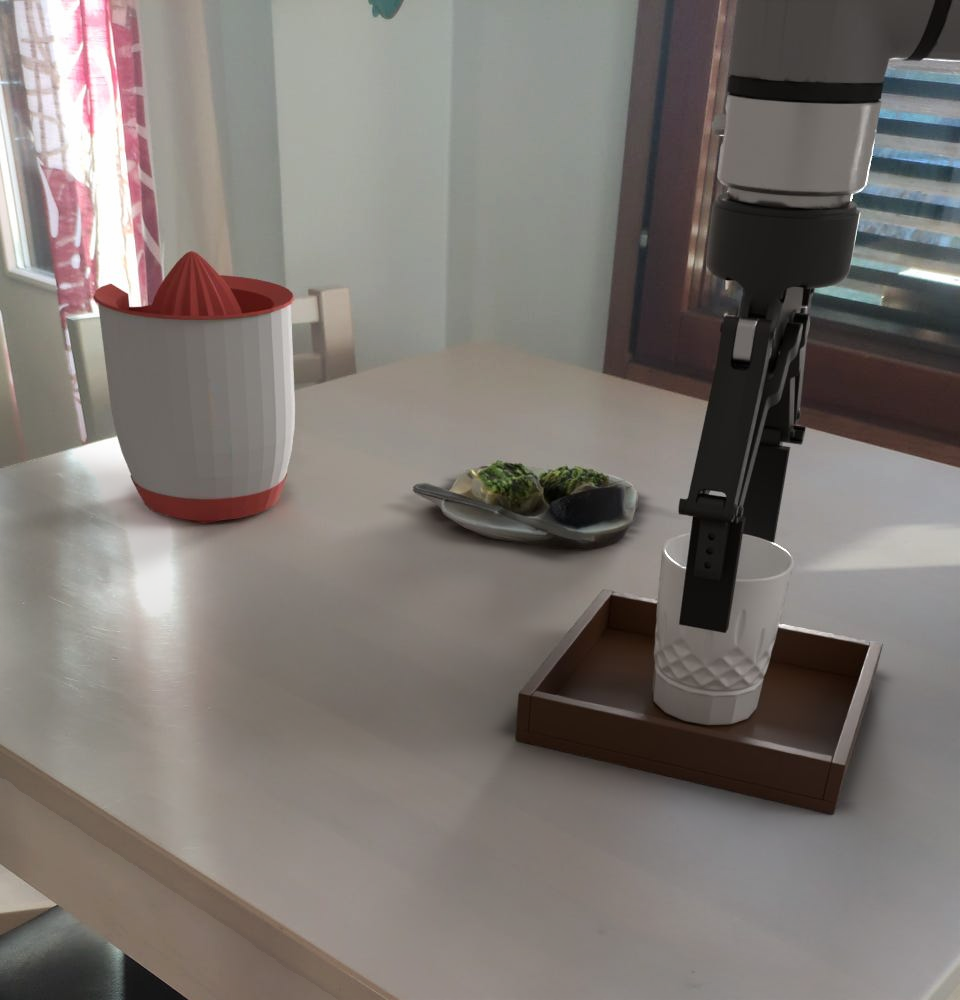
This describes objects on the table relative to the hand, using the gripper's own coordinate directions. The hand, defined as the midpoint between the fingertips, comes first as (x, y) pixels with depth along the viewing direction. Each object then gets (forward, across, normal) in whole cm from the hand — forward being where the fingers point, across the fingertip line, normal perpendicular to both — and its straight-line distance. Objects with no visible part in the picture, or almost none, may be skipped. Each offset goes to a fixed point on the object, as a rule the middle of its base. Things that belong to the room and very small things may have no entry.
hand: (729, 584), depth 77 cm
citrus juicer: (+8, -19, -49) cm, 54 cm away
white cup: (+8, 0, 0) cm, 8 cm away
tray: (+9, 0, 0) cm, 9 cm away
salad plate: (+9, -29, -21) cm, 37 cm away
